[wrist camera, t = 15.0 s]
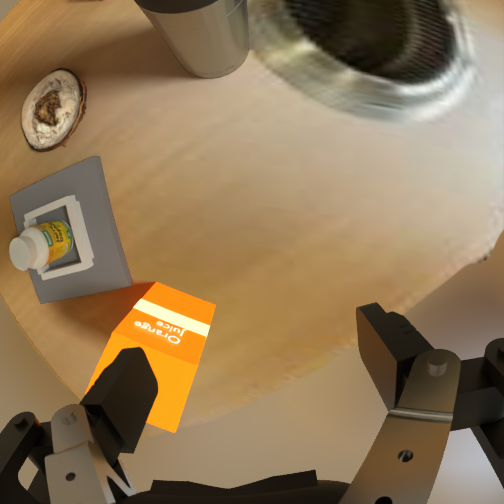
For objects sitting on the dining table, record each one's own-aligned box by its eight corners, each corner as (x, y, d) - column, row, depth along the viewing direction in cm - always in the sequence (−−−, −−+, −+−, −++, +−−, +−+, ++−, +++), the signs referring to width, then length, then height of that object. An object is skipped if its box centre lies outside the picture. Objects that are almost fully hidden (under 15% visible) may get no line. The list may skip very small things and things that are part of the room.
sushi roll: (20, 92, 33) (4, 88, 29) (90, 49, 32) (77, 40, 28) (29, 173, 36) (13, 174, 32) (103, 135, 35) (88, 132, 31)
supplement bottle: (42, 239, 37) (0, 255, 28) (57, 210, 36) (13, 222, 27) (65, 263, 38) (25, 285, 28) (81, 235, 37) (39, 252, 27)
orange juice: (200, 349, 42) (168, 454, 23) (143, 326, 42) (82, 418, 22) (216, 304, 40) (187, 405, 21) (156, 280, 40) (85, 361, 20)
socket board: (15, 195, 37) (1, 198, 33) (100, 156, 36) (87, 155, 32) (45, 300, 41) (33, 308, 38) (133, 282, 40) (123, 292, 36)
